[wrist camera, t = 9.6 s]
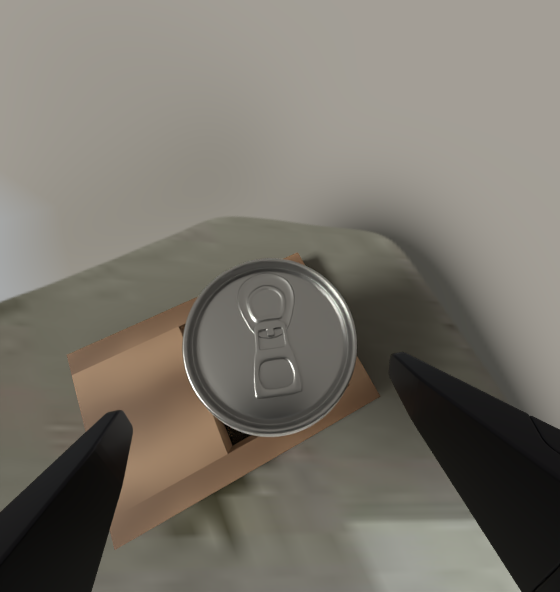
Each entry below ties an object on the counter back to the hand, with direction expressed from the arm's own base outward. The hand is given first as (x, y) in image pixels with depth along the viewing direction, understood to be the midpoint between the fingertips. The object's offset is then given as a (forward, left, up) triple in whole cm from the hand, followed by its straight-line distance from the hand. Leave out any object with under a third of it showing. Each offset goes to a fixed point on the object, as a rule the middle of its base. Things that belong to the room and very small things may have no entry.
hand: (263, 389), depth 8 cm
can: (+1, -1, -11) cm, 11 cm away
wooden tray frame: (+2, +3, -11) cm, 12 cm away
